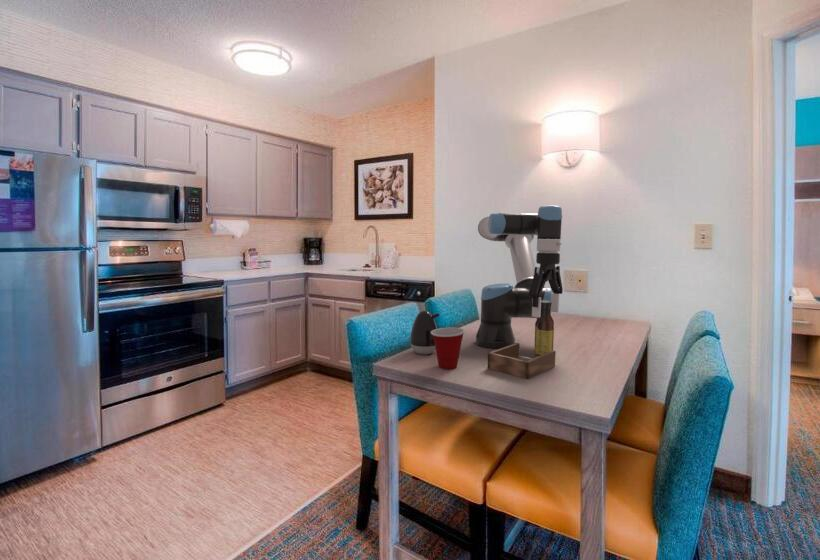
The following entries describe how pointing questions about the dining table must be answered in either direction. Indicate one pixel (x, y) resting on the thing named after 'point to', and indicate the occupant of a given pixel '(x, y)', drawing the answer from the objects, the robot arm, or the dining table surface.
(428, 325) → the pump dispenser
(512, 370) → the frame
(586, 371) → the dining table surface
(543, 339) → the sauce bottle
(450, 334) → the plastic cup
